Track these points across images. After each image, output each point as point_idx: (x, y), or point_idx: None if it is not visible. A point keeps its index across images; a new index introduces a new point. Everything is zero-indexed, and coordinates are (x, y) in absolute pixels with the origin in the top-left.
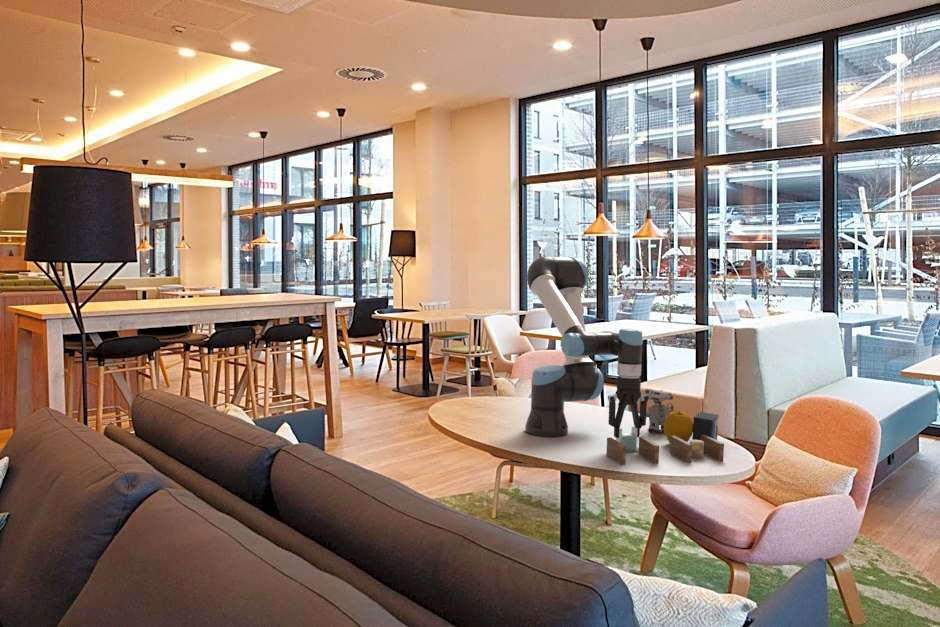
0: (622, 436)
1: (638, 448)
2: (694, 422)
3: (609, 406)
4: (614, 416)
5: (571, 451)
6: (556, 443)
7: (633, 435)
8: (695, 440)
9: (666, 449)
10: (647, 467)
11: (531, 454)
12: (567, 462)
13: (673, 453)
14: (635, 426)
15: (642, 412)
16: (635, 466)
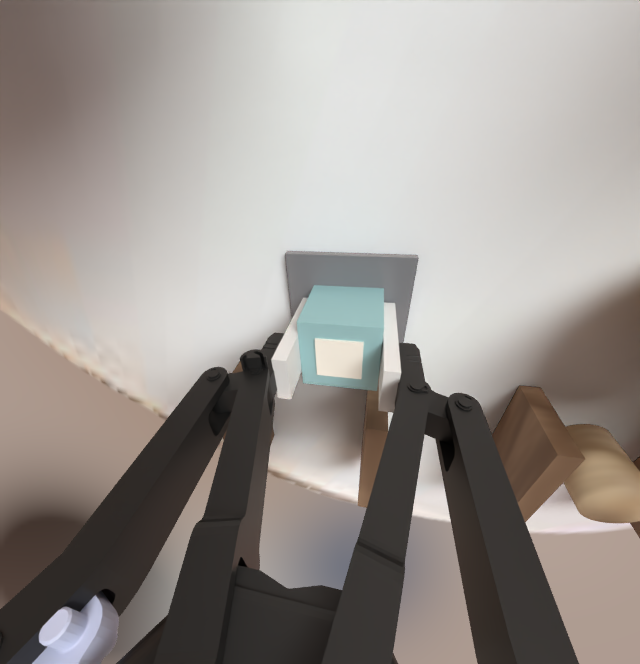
0: (303, 372)
1: (401, 334)
2: None
3: (107, 507)
4: (203, 460)
5: (120, 298)
6: (26, 155)
7: (365, 383)
8: (631, 501)
9: (555, 345)
10: (325, 460)
11: (4, 307)
12: (125, 388)
13: (508, 411)
14: (396, 397)
15: (456, 532)
16: (296, 448)
